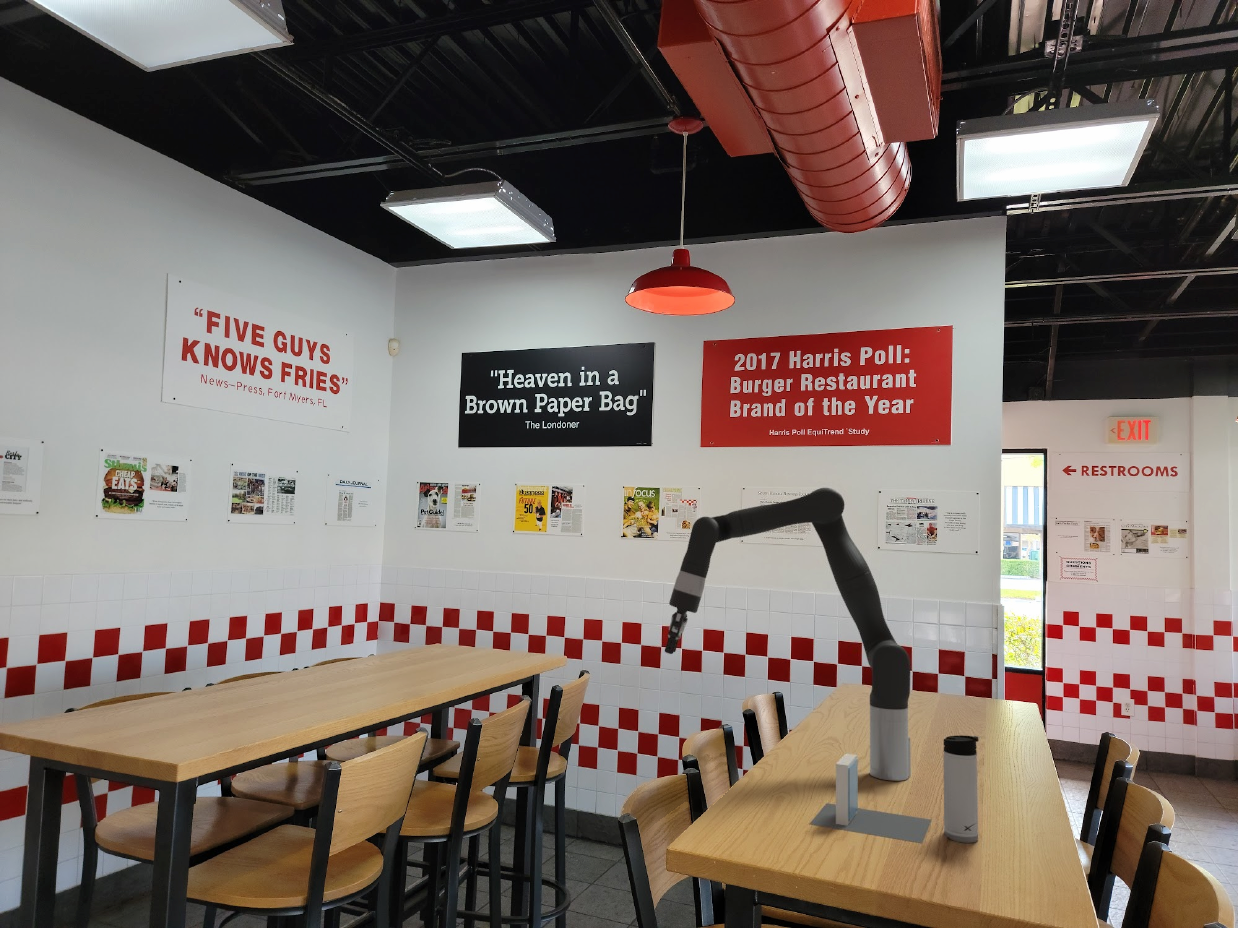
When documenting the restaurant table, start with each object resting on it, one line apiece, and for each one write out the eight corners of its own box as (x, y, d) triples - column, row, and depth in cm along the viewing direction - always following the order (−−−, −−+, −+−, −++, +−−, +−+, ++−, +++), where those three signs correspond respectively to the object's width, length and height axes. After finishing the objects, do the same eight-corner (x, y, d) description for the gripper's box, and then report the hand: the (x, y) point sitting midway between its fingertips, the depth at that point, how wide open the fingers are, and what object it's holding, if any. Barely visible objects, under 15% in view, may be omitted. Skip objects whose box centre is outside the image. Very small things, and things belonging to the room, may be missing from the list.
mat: (809, 826, 174) (809, 823, 174) (826, 805, 188) (826, 802, 189) (922, 845, 164) (922, 843, 164) (931, 821, 179) (931, 819, 179)
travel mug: (976, 845, 165) (975, 740, 167) (941, 838, 169) (940, 735, 170) (982, 836, 170) (981, 734, 172) (947, 829, 174) (946, 730, 176)
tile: (835, 823, 175) (835, 763, 176) (845, 810, 184) (845, 753, 185) (848, 825, 174) (848, 765, 175) (858, 812, 183) (858, 754, 184)
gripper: (700, 595, 213) (681, 658, 211) (702, 595, 227) (685, 655, 225) (671, 586, 214) (653, 649, 213) (675, 587, 228) (658, 646, 227)
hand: (669, 652), depth 219 cm, fingers open, 8 cm apart
